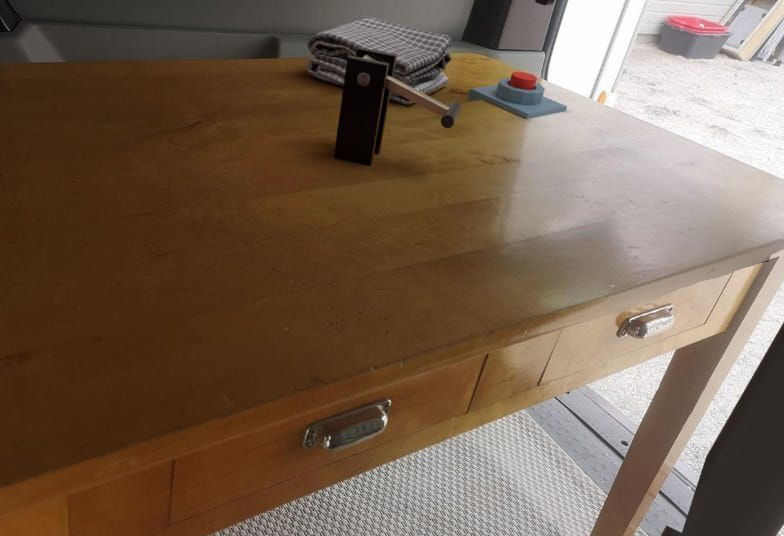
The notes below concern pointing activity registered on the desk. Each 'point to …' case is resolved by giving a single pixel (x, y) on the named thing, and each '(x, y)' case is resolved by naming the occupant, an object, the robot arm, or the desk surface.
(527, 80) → the button
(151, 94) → the desk surface
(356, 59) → the switch bracket
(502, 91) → the control block
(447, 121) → the lever
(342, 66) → the towel
